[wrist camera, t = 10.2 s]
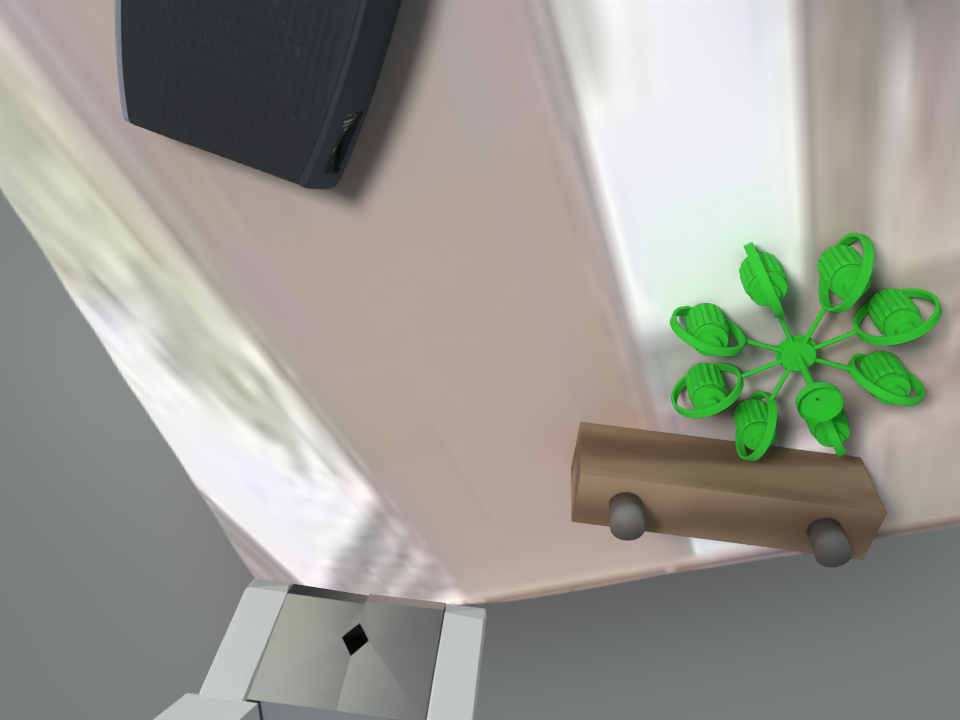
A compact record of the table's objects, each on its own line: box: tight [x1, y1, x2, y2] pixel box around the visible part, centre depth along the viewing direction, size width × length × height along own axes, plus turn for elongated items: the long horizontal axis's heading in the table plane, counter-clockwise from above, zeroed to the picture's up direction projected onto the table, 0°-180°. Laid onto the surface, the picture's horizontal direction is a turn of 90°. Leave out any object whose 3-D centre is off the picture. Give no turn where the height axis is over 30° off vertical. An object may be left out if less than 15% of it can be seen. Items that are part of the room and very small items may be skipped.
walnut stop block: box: [571, 422, 887, 567], centre depth 48 cm, size 4×18×7 cm, turn 85°
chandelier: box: [670, 233, 942, 461], centre depth 43 cm, size 15×15×7 cm
